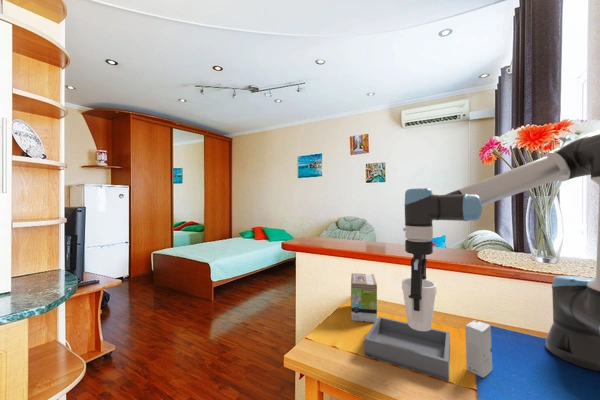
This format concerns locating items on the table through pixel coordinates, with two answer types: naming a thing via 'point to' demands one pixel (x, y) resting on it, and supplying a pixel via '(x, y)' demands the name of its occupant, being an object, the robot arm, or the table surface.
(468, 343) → the skincare box
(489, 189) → the robot arm
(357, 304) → the tea box
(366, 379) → the table surface
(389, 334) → the tote
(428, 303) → the foam cup
